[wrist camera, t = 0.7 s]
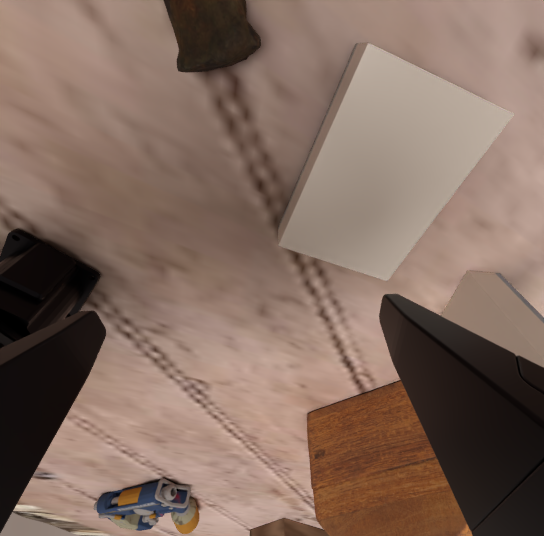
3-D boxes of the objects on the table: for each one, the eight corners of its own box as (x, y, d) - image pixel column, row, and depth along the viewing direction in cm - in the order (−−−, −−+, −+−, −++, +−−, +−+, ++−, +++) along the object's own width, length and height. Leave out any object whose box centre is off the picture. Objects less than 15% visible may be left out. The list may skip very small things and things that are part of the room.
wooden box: (509, 467, 44) (588, 611, 33) (400, 490, 50) (436, 618, 39) (443, 362, 30) (541, 549, 19) (303, 410, 36) (314, 575, 25)
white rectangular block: (426, 339, 28) (496, 476, 19) (467, 270, 23) (585, 408, 14) (453, 341, 28) (536, 478, 19) (500, 273, 23) (637, 412, 14)
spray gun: (228, 501, 55) (171, 470, 48) (224, 531, 51) (161, 502, 44) (149, 515, 62) (90, 489, 55) (141, 542, 59) (76, 518, 52)
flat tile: (377, 259, 23) (387, 281, 20) (278, 226, 21) (278, 245, 19) (484, 106, 16) (514, 113, 14) (355, 44, 15) (368, 42, 13)
